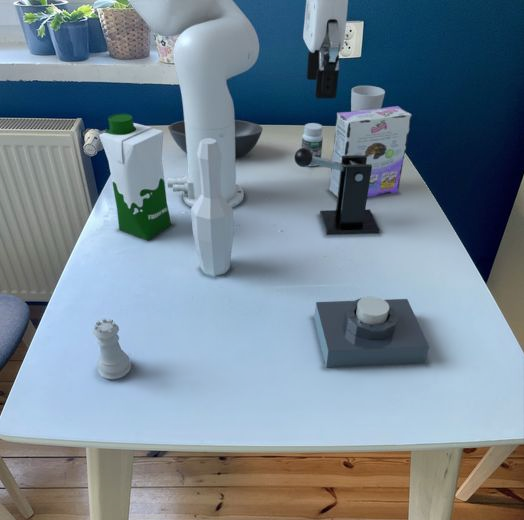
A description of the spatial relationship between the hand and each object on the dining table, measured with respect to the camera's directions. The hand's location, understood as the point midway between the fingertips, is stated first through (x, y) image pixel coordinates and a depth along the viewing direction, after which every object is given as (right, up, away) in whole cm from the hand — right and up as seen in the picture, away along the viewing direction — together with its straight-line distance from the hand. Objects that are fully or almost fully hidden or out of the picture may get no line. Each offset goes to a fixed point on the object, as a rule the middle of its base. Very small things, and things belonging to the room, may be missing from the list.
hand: (320, 88), depth 87 cm
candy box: (+12, -8, +29) cm, 33 cm away
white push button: (+6, -37, -10) cm, 39 cm away
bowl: (-20, +5, +43) cm, 48 cm away
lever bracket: (+7, -18, +18) cm, 26 cm away
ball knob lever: (+2, -10, +11) cm, 15 cm away
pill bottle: (+2, +2, +40) cm, 40 cm away
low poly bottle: (-17, -28, +6) cm, 34 cm away
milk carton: (-32, -19, +16) cm, 40 cm away
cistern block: (+6, -41, -7) cm, 42 cm away
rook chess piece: (-30, -45, -13) cm, 55 cm away
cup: (+16, +11, +51) cm, 55 cm away
